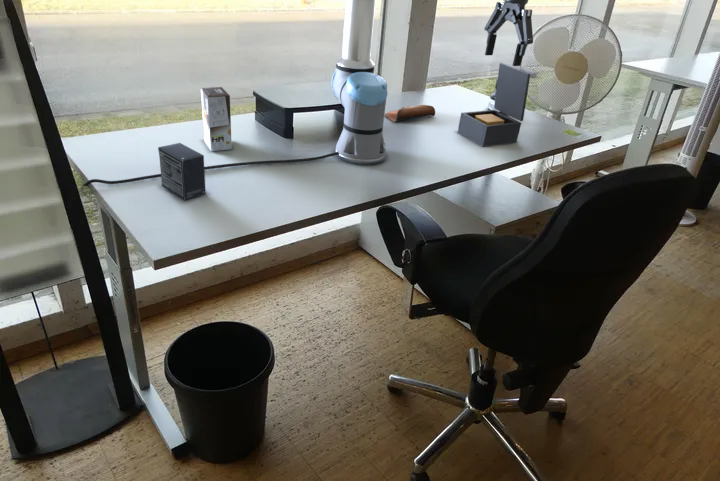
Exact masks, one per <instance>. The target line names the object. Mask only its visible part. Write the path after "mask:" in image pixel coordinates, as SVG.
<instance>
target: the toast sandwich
mask: <svg viewBox="0 0 720 481" xmlns="http://www.w3.org/2000/svg"><path fill="white" fill-rule="evenodd" d="M475 119H476V120H478V121H480V122H482V123H484V124H486V125H496V124H504V120H503V119H501V118H499V117H497V116H495V115H493V114H485V115H476V116H475Z"/></svg>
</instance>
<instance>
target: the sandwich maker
mask: <svg viewBox="0 0 720 481" xmlns="http://www.w3.org/2000/svg"><path fill="white" fill-rule="evenodd" d="M485 114H493V115H495V116H497V117H499V118H501V119H503V120H504V124H496V125H486V124H484V123H482V122H480V121H478V120H476V119H475V116H476V115H485ZM458 122H459V123H458V128H457V133H459V134H460V135H461V136H464V137H466V138H467V139H469V140H470V141H472V142H474V143H476V144H478V145H479V146H481V147H492V146H498V145H506V144H507V145H508V144H515V143H517V142H518V138H519V135H520V131H521V126H522V121H519V120H517V119H515V118H513V117H511V116H509V115H504V114H502V113H500V112H498V111H496V110H488V109H486V110H477V111H465V112H461V113H460V118H459V121H458Z"/></svg>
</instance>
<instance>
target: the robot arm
mask: <svg viewBox="0 0 720 481" xmlns="http://www.w3.org/2000/svg"><path fill="white" fill-rule="evenodd" d="M528 3H529V0H503V1H496V4H495V7H494V10H493V12H492V13H491V15H490V17H489V18H488V20H487V23H486V25H485V26H484V31H486V33H487V36H486V47H485V51H484V56H493V54H494V50H495V45H496V42H497V36H498V34H497V33H498V31H499V30H500V28H501V27H502V26H503V25H504V24H505V23H506V22H507V21H508V22H510V23H512V24H513V25H514V27H515V31H516V34H517V35H516V36H517V38H518V43H517V44H516V48H515V53H514V56H513V60H512V65H511V66H512V67H522V66H521V65H522V61H523V58H524V56H525V54H526V50H527V46H528V45H532V44H533V43H534V35H533V23H532V20H533V19H532V16H533V9H530V8H528V9H526V5H527V4H528ZM375 8H376V0H344V16H343V29H342V30H343V31H342V32H343V33H342V43H341V44H342V46H341V56H340V57H339V58H338V59H337V60H336V61H335V70H334V72H333V74H332V77H331V89H332V93H333V95H334V97H335V98H336V99H337V100H338V102H339V103H340V104H341V105H342V107H343V108H344V114H343V127H342V131H341V134H340V135H339V138H338V139H337V140H338V141H337V142H336V146H335V152H331V153H327V154H323V155H320V156H319V155H318V156H314V157H305V158H292V159H274V160H256V161H244V162H243V161H242V162H234V163H224V164H215V165H210V166H208V165H206V166H204V171H206V170H213V169H221V168H222V169H223V168H230V167H239V166H250V165H252V166H253V165H263V164H264V165H265V164H285V163H286V164H288V163H299V162H310V161H318V160H322V159H327V158H329V157H335V156H336V157H337V158H338V159H340V161H343V162H346V163H349V164H353V165H359V166H360V165H361V166H371V165H377V164H380V163H382V162H384V161H385V160H386V157H387V148H386V145H387V144H386V142H385V139H384V135H383V134H384V133H383V130H384V129H383V128H384V123H385V122H384V120H385V114H386V105H387V98H388V83H387V81H386V80H385V78H383V77H382V76H380V75H379V74H377V75H376V73H375V63H374V61H372V59H371V52H372V42H373V41H372V40H373V33H374V32H373V31H374V22H375V20H374V19H375V10H376V9H375ZM155 178H157V179H158V178H161V173H156V174H150V175H145V176H138V177H131V178H125V179H118V180H105V179H100V178H91V179H89V180H87V181H86V182H84V184H83V187H88V186H89V185H90V184H93V183H100V184H104V185H119V184H127V183H133V182H139V181H144V180H149V179H155Z"/></svg>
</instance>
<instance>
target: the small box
mask: <svg viewBox="0 0 720 481" xmlns="http://www.w3.org/2000/svg"><path fill="white" fill-rule="evenodd" d="M157 149H158V150H157V151H158V157H159V165H160V166H159V168H160V174H161V177H160V178H161V187H162V188H164V189H166V190H167V191H168V192H171V193H172V194H174V195H175V196H177V197H178V198H180V199H181V200H183V201H187V200H191V199H194V198H197V197H200V196H204V195H206V193H207V192H206V176H205V175H206V174H205V170H204V167H205V155H204V154H202V153H201V152H199V151H196V150H195V149H193V148H191V147H189V146H187V145H185V144H183V143H181V142H177V143H172V144H168V145H167V144H166V145H162V146H158V148H157Z"/></svg>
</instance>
